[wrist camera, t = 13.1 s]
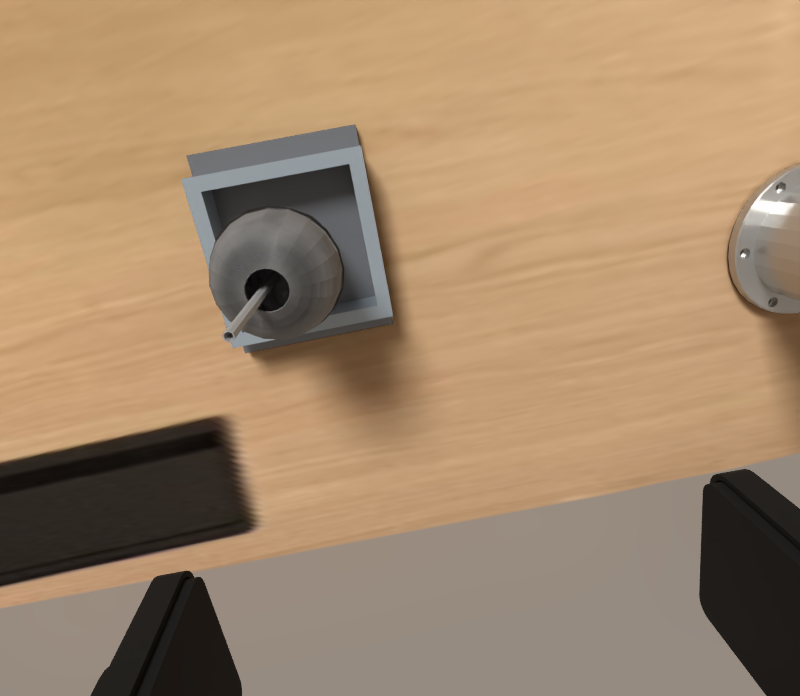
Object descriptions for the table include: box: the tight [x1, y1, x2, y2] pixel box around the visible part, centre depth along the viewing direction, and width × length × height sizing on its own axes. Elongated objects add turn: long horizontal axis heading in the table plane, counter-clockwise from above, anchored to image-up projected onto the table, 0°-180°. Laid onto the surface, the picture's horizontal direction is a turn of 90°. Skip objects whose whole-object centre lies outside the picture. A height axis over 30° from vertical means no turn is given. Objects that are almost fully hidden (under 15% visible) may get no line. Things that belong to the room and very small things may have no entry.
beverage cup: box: [209, 205, 344, 342], centre depth 30 cm, size 7×7×20 cm
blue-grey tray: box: [181, 125, 393, 353], centre depth 39 cm, size 12×15×4 cm
